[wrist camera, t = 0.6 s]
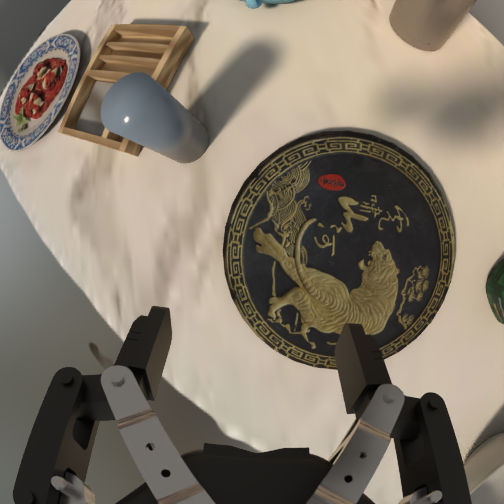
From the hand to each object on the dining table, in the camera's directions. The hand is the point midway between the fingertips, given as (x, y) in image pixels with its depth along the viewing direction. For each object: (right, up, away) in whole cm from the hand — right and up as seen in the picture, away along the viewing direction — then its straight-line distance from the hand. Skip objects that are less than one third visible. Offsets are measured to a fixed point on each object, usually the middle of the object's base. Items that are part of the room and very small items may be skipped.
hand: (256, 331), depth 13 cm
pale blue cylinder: (-9, +18, +23) cm, 31 cm away
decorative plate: (+11, +3, +22) cm, 25 cm away
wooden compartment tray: (-19, +29, +24) cm, 42 cm away
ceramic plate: (-42, +35, +27) cm, 62 cm away
